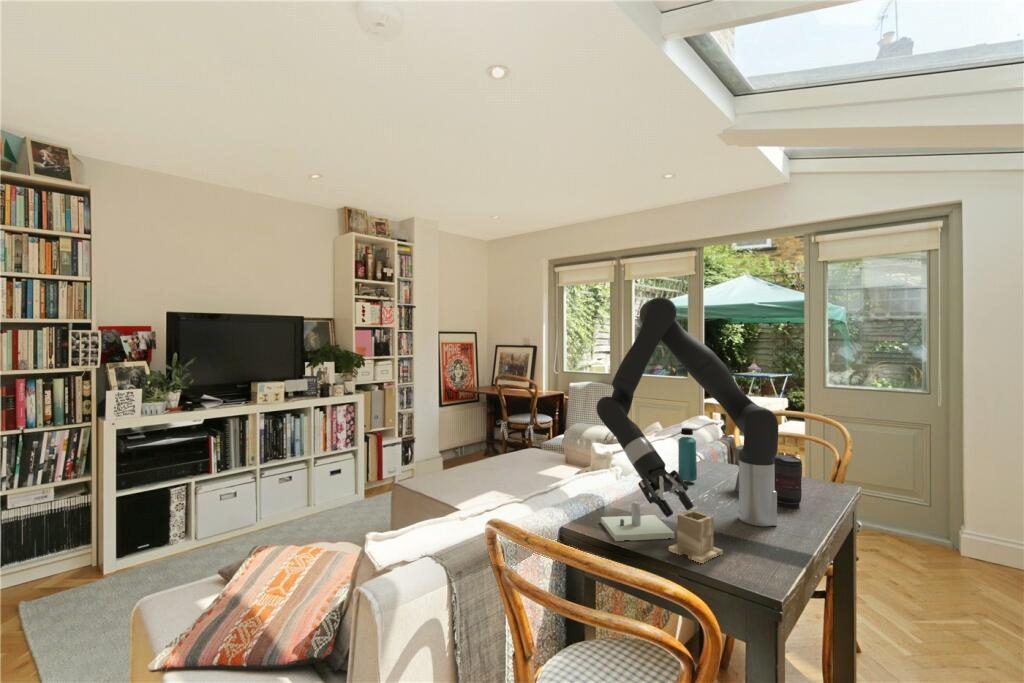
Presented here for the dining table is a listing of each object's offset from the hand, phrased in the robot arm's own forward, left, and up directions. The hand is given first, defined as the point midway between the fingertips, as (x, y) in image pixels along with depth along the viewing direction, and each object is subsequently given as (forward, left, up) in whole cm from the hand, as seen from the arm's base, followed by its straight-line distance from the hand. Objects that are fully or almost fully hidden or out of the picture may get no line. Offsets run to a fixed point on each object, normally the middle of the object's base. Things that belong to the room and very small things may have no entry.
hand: (680, 511), depth 121 cm
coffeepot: (-28, -53, -9) cm, 61 cm away
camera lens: (-36, -40, -9) cm, 55 cm away
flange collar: (-3, +3, -9) cm, 10 cm away
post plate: (+11, -8, -9) cm, 16 cm away
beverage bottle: (-8, -58, -9) cm, 60 cm away
